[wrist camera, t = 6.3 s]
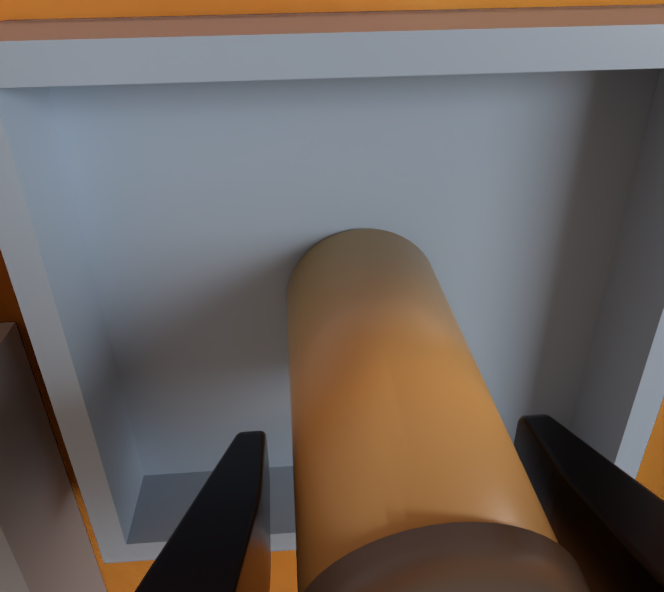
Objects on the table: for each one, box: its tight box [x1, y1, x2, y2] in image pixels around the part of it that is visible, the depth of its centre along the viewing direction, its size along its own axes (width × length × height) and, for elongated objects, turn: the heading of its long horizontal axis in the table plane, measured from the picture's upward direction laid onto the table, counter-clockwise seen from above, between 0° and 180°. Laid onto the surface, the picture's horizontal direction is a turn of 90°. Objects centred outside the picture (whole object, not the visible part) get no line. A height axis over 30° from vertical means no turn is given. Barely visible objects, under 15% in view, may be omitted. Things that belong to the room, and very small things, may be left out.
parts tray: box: [0, 4, 664, 563], centre depth 12 cm, size 12×11×2 cm
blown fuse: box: [287, 229, 591, 592], centre depth 10 cm, size 3×3×8 cm
